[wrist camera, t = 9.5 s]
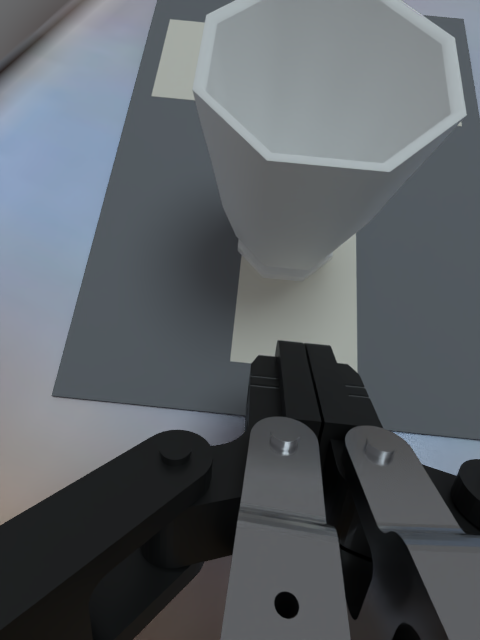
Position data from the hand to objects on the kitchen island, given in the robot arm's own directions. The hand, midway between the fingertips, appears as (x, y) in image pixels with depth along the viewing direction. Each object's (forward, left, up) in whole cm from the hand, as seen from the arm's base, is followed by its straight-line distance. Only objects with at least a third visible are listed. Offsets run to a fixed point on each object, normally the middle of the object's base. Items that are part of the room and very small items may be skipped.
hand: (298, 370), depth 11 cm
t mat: (+8, -8, -4) cm, 12 cm away
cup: (+6, -6, -4) cm, 9 cm away
